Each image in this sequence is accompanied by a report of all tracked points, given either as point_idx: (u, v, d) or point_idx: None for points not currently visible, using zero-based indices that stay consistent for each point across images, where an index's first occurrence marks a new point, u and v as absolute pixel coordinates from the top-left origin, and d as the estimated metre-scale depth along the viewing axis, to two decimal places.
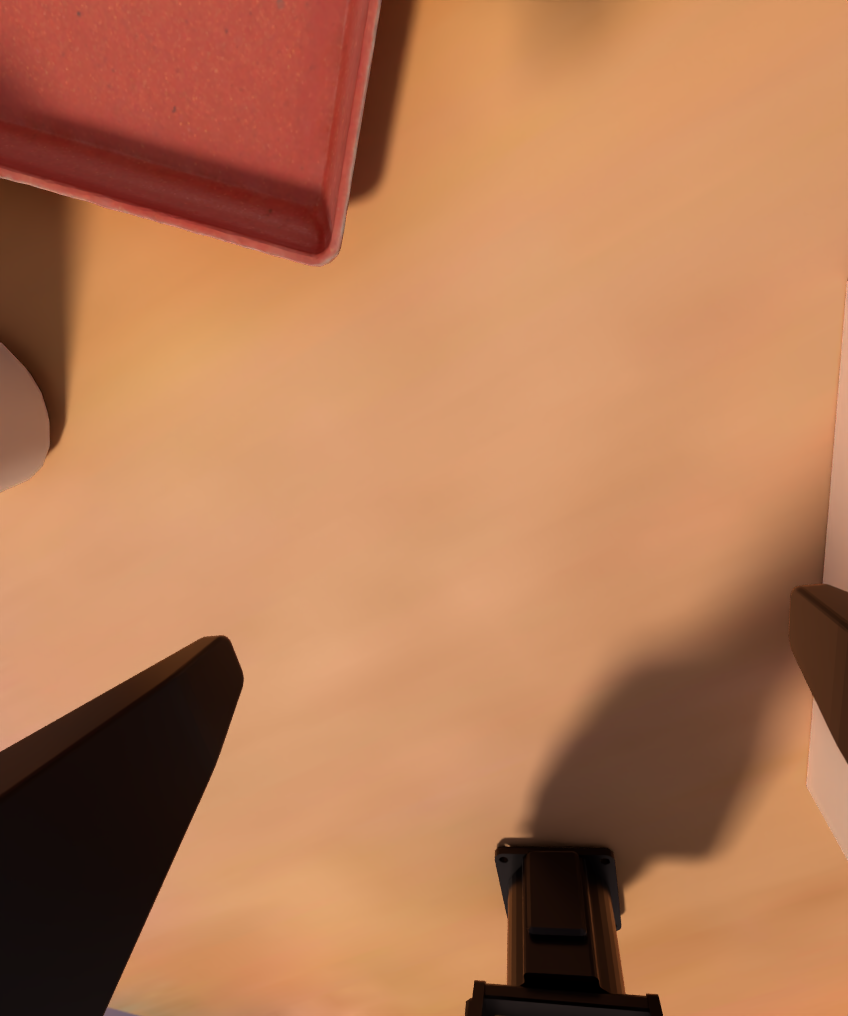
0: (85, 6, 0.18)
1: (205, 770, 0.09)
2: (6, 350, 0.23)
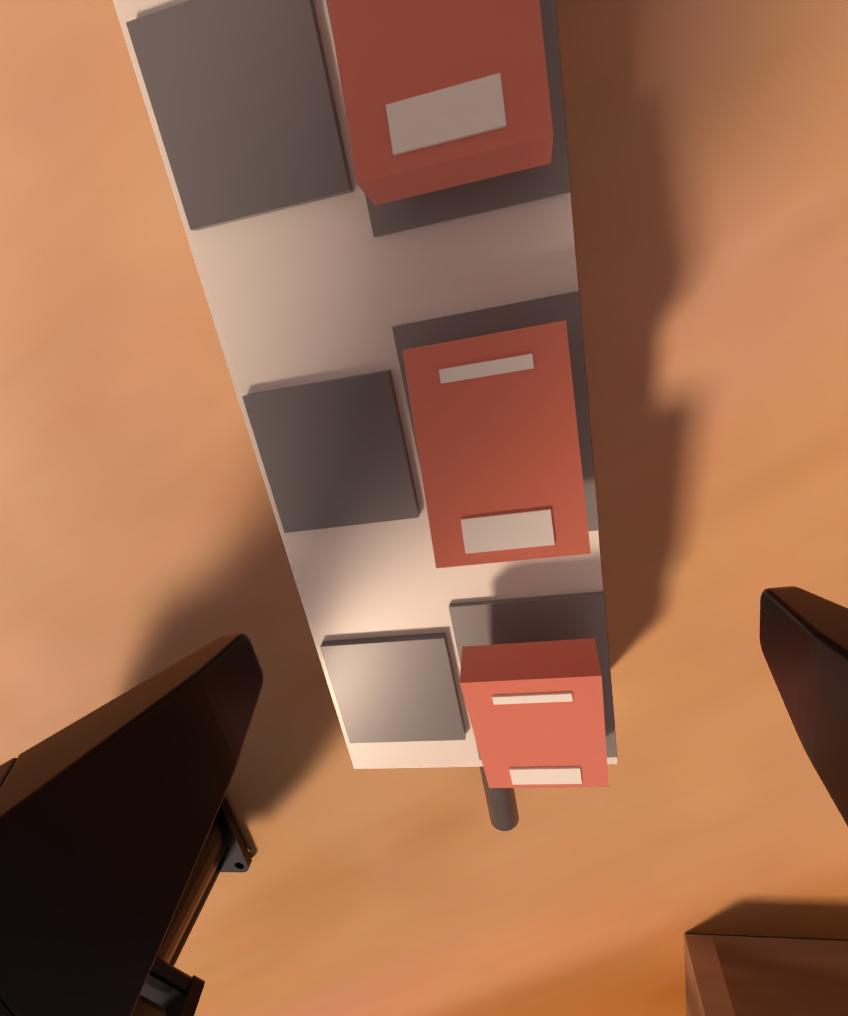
0: None
1: (227, 770, 0.09)
2: None
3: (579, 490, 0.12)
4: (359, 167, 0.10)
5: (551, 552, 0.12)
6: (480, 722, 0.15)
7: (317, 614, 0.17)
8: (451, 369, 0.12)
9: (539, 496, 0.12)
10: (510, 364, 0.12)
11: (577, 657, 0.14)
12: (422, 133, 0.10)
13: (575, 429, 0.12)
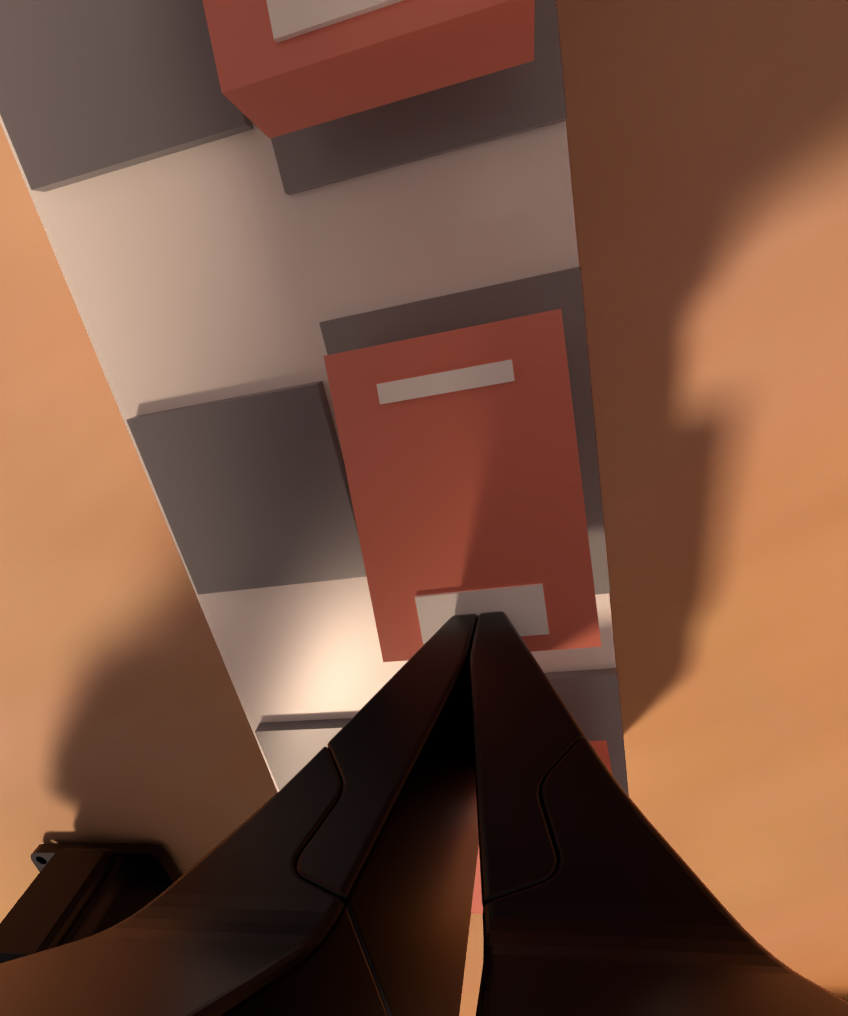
0: None
1: None
2: None
3: (584, 557, 0.08)
4: (224, 65, 0.06)
5: (545, 643, 0.09)
6: None
7: (250, 691, 0.14)
8: (395, 383, 0.08)
9: (525, 565, 0.08)
10: (480, 375, 0.08)
11: None
12: (320, 3, 0.06)
13: (577, 469, 0.08)
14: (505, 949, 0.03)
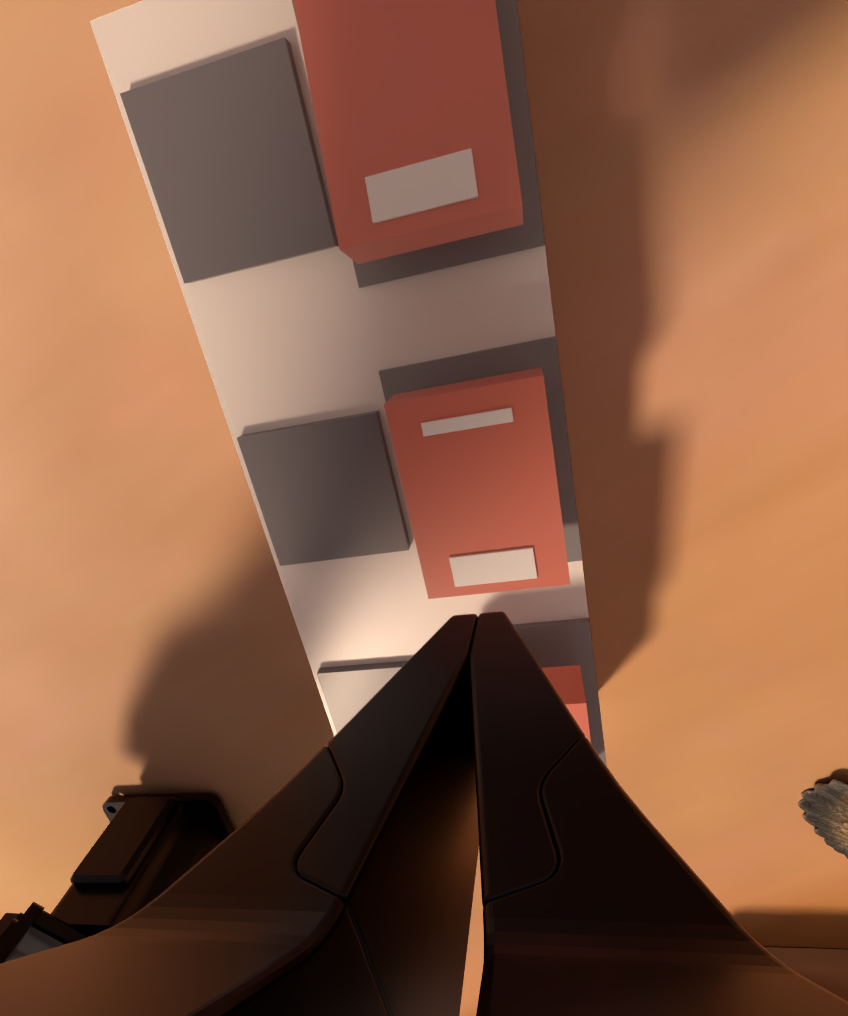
0: None
1: None
2: None
3: (559, 530, 0.13)
4: (341, 234, 0.11)
5: (534, 583, 0.14)
6: None
7: (313, 642, 0.18)
8: (433, 421, 0.12)
9: (521, 536, 0.13)
10: (490, 417, 0.12)
11: (563, 684, 0.15)
12: (400, 203, 0.10)
13: (554, 476, 0.12)
14: (505, 949, 0.03)
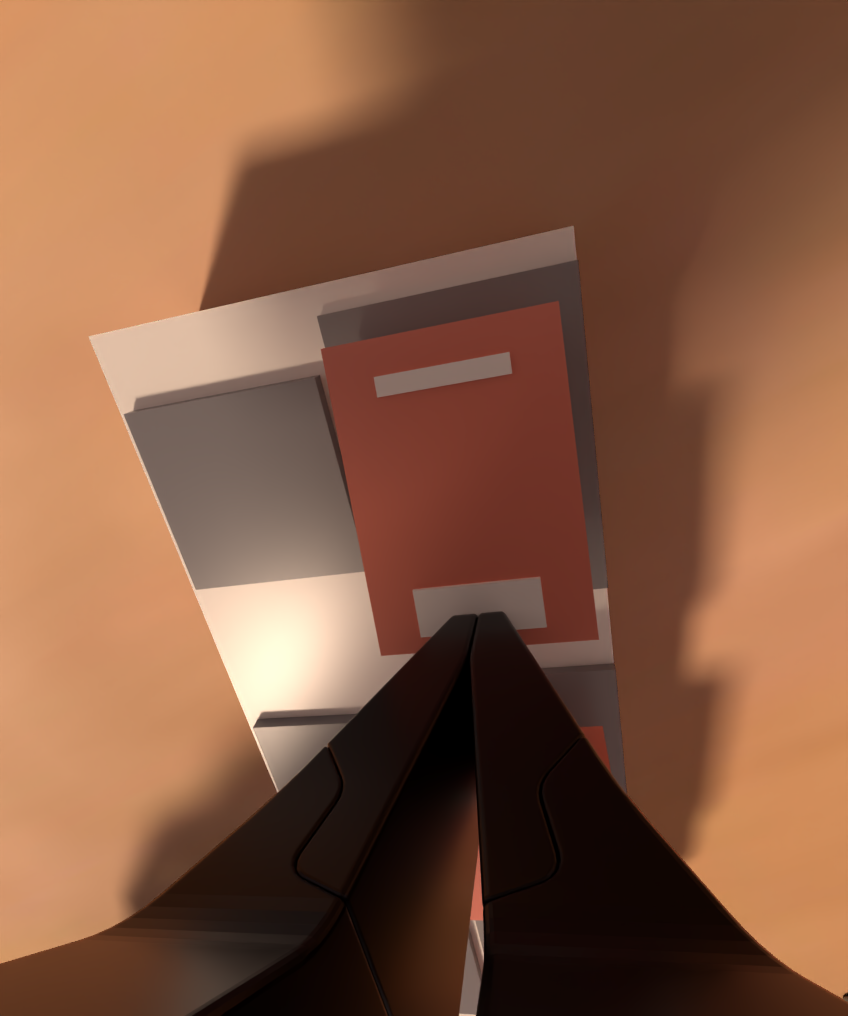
0: None
1: None
2: None
3: None
4: (383, 640, 0.09)
5: None
6: None
7: None
8: None
9: None
10: None
11: None
12: None
13: None
14: (504, 950, 0.03)
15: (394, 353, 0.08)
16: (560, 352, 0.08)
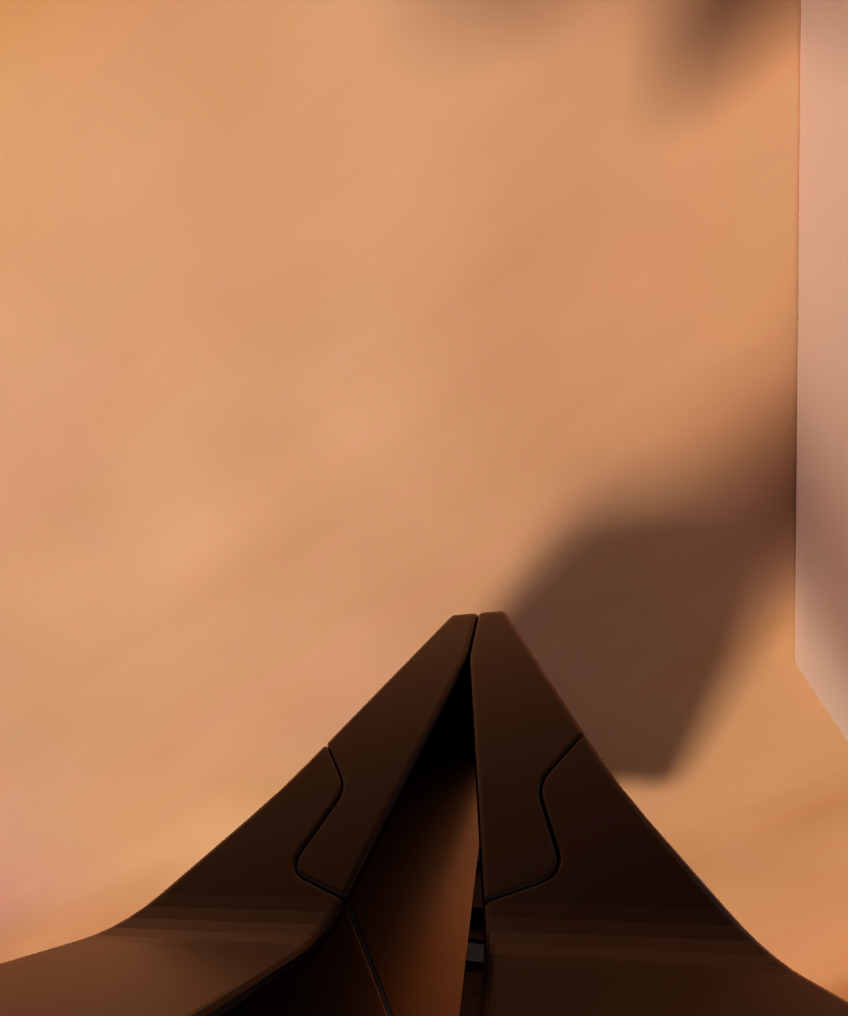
0: None
1: None
2: None
3: None
4: None
5: None
6: None
7: None
8: None
9: None
10: None
11: None
12: None
13: None
14: (505, 949, 0.03)
15: None
16: None
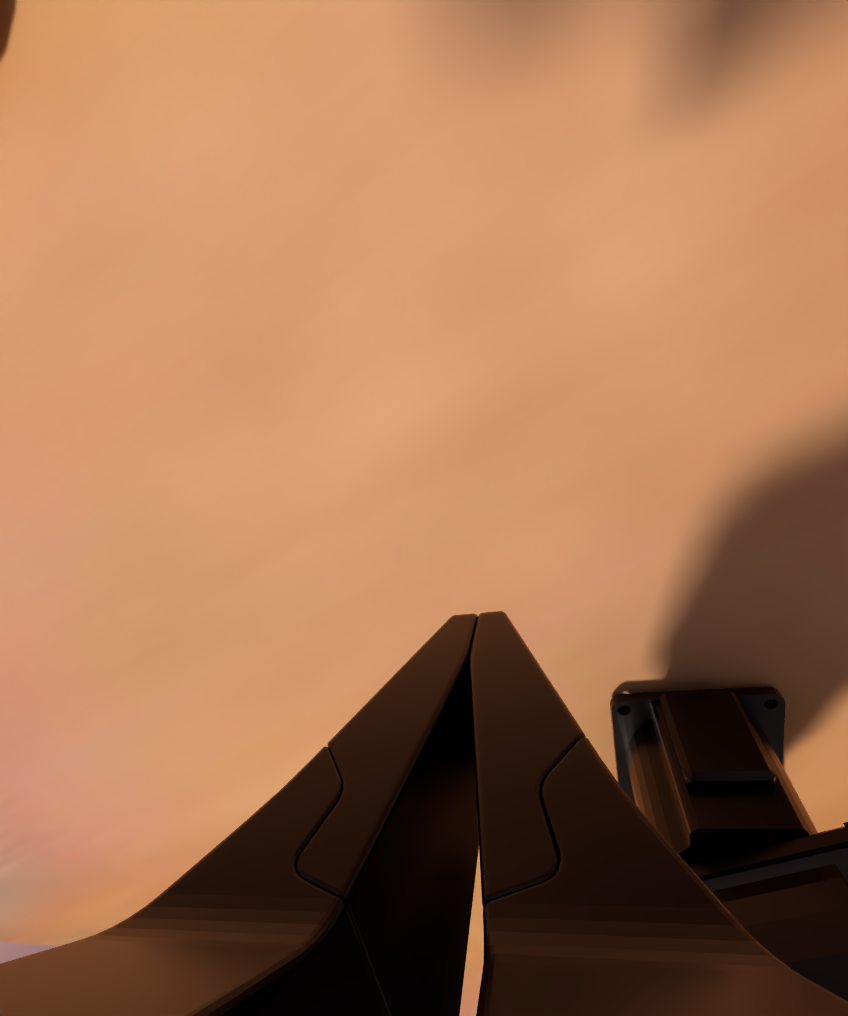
0: None
1: None
2: None
3: None
4: None
5: None
6: None
7: None
8: None
9: None
10: None
11: None
12: None
13: None
14: (505, 950, 0.03)
15: None
16: None
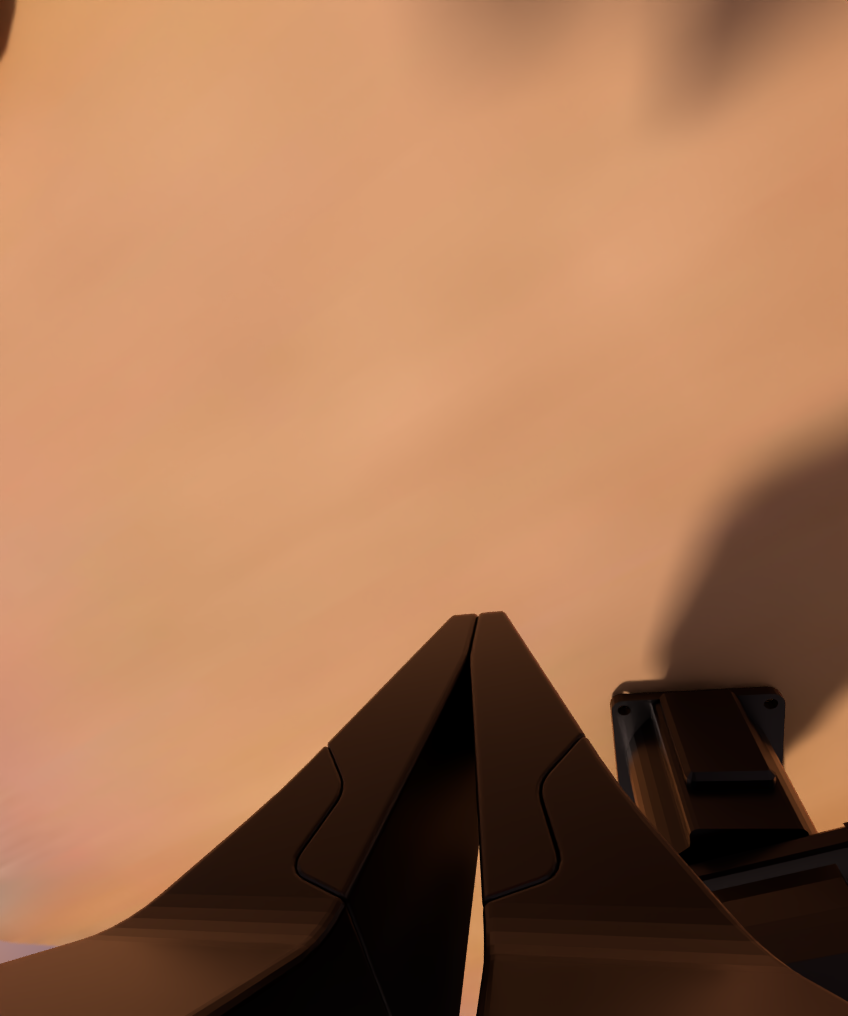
0: None
1: None
2: None
3: None
4: None
5: None
6: None
7: None
8: None
9: None
10: None
11: None
12: None
13: None
14: (505, 949, 0.03)
15: None
16: None
